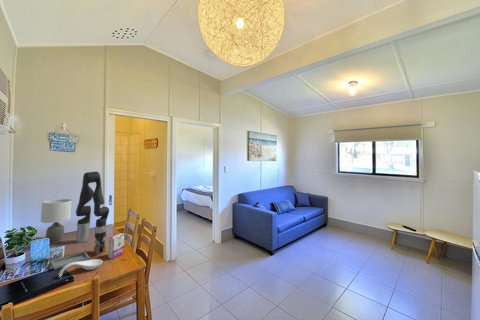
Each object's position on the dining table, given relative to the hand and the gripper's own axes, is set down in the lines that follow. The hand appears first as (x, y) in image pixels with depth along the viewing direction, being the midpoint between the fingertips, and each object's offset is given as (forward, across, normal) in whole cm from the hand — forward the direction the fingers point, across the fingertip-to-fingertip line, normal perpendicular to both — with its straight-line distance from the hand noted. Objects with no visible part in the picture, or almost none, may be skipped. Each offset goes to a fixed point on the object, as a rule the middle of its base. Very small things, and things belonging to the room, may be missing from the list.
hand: (99, 250), depth 161 cm
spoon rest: (+2, +23, -16) cm, 28 cm away
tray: (+2, +3, -19) cm, 19 cm away
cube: (+2, 0, 0) cm, 2 cm away
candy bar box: (+2, +16, +7) cm, 17 cm away
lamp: (+2, -61, -19) cm, 64 cm away
